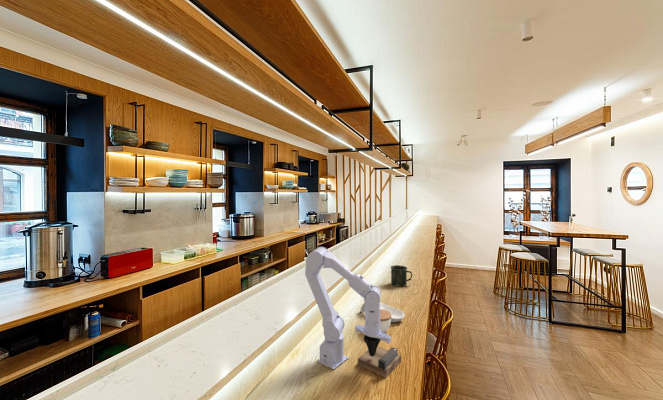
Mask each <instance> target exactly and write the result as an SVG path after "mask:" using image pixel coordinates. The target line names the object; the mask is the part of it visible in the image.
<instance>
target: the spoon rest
mask: <svg viewBox="0 0 663 400" xmlns="http://www.w3.org/2000/svg"><path fill="white" fill-rule="evenodd" d="M365 307H366V303H365V302H363V303H362V305H361V307H360V313H363V312H364V313H365ZM380 309H382V310H386V311H389V312H390V313H391V323H397V322H401V321H402V320H403V319H404V318H405V316H406V314H405V313H404V312H403V311H402V310H400V309H399V308H396V307H393V306H391V305H387V304H386V303H383V302H381V301H380Z"/></svg>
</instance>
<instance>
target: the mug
mask: <svg viewBox="0 0 663 400" xmlns="http://www.w3.org/2000/svg"><path fill="white" fill-rule="evenodd" d="M408 273H409V274H410V277H409V278H408V277H407V275H408ZM390 275H391V276H390V278H391V280H390V281H391V282H390V283H391V285H392V286H394V287H399V288H400V287H406V286H407V285H408V284H407V282H410V281H411V280H412V278H413V273H412V271H410V270H408V267H407V266H405V265H400V264H399V265H397V264H395V265H391V266H390ZM407 278H408V279H407Z"/></svg>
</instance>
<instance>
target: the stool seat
mask: <svg viewBox="0 0 663 400" xmlns="http://www.w3.org/2000/svg"><path fill="white" fill-rule="evenodd" d="M389 350H390V349H386V348H383V347H381V346H379V345H378V346H377V349H376V354H375V355H374V356H373V357H372V356H370V354H369V350H368V349H367V350H366V351H365V352H364V353H362V354H361V355H360V356H359V357H357V366H360V367H362V368H364V369H366V370H369V371H371V372H373V373H376V374H378V375H379V376H382V377H384V378H387V377H389V375H390V374H391V373H393V371H394V370H395V369H396V368H397V367H398V366H399V365H400V364H401V363H402V355H401V354H399V353H398V356H397V357H396V358H395V359H394V360H393V361H392V362H391V363H390V364H389V365H388V366H387V367H386V369H385V370H384V369H382V368H379V367H378V360H379V359H381V358H382V357H383V356H384V355H385V354H386V353H387V352H388V351H389Z"/></svg>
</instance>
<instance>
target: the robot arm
mask: <svg viewBox="0 0 663 400" xmlns="http://www.w3.org/2000/svg"><path fill="white" fill-rule="evenodd" d="M322 269H332V270H333V271H335V272H336V273H337V274H339V276H341V277H342V278H344V279H345V280H346V281H347V283H348V286H349V287H350V288H351V289H352V290H353V291H354V292H355V293H357V294H358V295H360V297H362V298H363V303H366V307H365V311H364V325H361V324H357V325H355V326H354V327H355V332H357V333H359V332H360V333H362V334H364V336H363V341H364V342H365V344H366V347H367V350H369V354H370V356H372V357H373V356H374V355H375V354H376V349H377V346H378V347H379V343H380V342H381V341H384V342H385V343H386V344H390V343H391V342H392V336H391V335H389V334H387V333H386V332H382V331H381V330H380V302H381V297H382V292H381V289H379V287H378V286H377V285H374V284H373V283H370V282H368V280H366V279H365V278H364V277H365V276H364V275H363V274H359V273H353V272H352V271H351V270H350V269H349V268H348V267H347V266H346V265H345V264H344V263H343V262H342V261H340V259H338V257H336V256H335V255H334V254H333V252H331V251H330V250H328V249H327V248H326V247H324V246H318V247H316V248H315V249H314V250H313V251H311V252H310V253H308V255H307V257H306V259H305V270H304V271H305V273H304V275H305V277H306V280H307V282H308V285H309V287H310V290H311V292H312V294H313V298H314V299H315V302H316V305H317V308H318V310H319V312H320V314H321V316H322V317H321V318H322V319H321V320H322V321H321V325H322V328H323V336H324V340H323V341H322V343H321V344H320V345H319V359H318V360H317V362H318V363H319V364H321V363H322V364H321V365H323V364H324V365H323V366H325V365H326V366H325V367H327V366H328V367H327V368H329V367H330V368H329V369H331V368H332V369H331V370H333V369H334V370H336V369H337V368H338V367H340V366H341V365H342V364H343V363H344V362H346V361H347V360H348V359H349V356H347V355H345V354H344V353H345V351H344V348H345V347H344V346H345V345H344V344H345V343H344V341H345V340H344V339H345V336H344V333H343V330H344V327H345V321H344V318H343V317H341V316H340V314H339V312H338V311H337V310H335V308H334V305H333V303H332V300H331V298H330V295H329V294H328V291H327V289H326V286H325V284H324V281H323V279H322V277H321V274H320V272H321V270H322ZM345 360H346V361H345ZM341 363H342V364H341ZM340 364H341V365H340Z"/></svg>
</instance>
